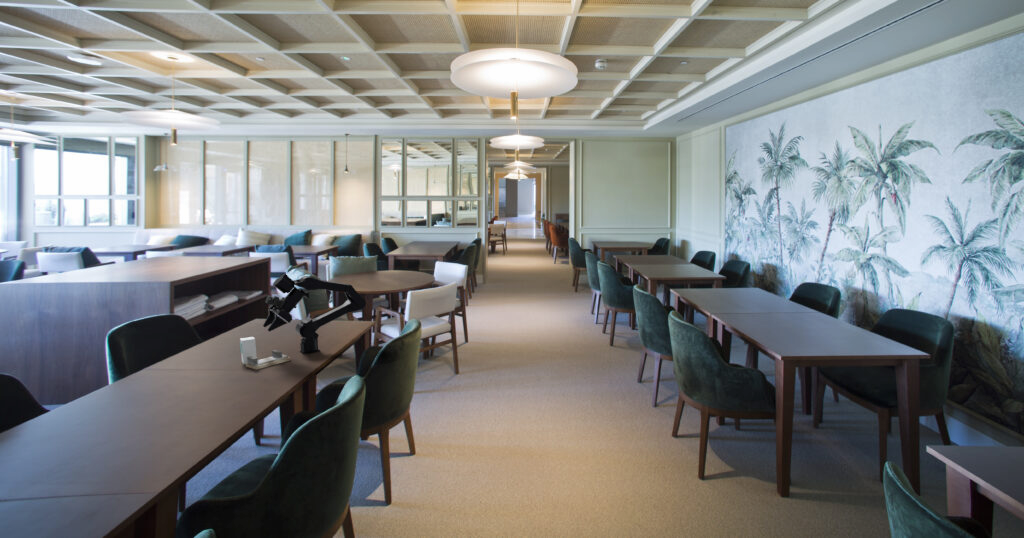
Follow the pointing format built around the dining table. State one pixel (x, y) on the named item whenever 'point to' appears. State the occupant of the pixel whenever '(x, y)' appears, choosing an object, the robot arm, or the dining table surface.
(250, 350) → the block
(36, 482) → the dining table surface
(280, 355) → the rail board
